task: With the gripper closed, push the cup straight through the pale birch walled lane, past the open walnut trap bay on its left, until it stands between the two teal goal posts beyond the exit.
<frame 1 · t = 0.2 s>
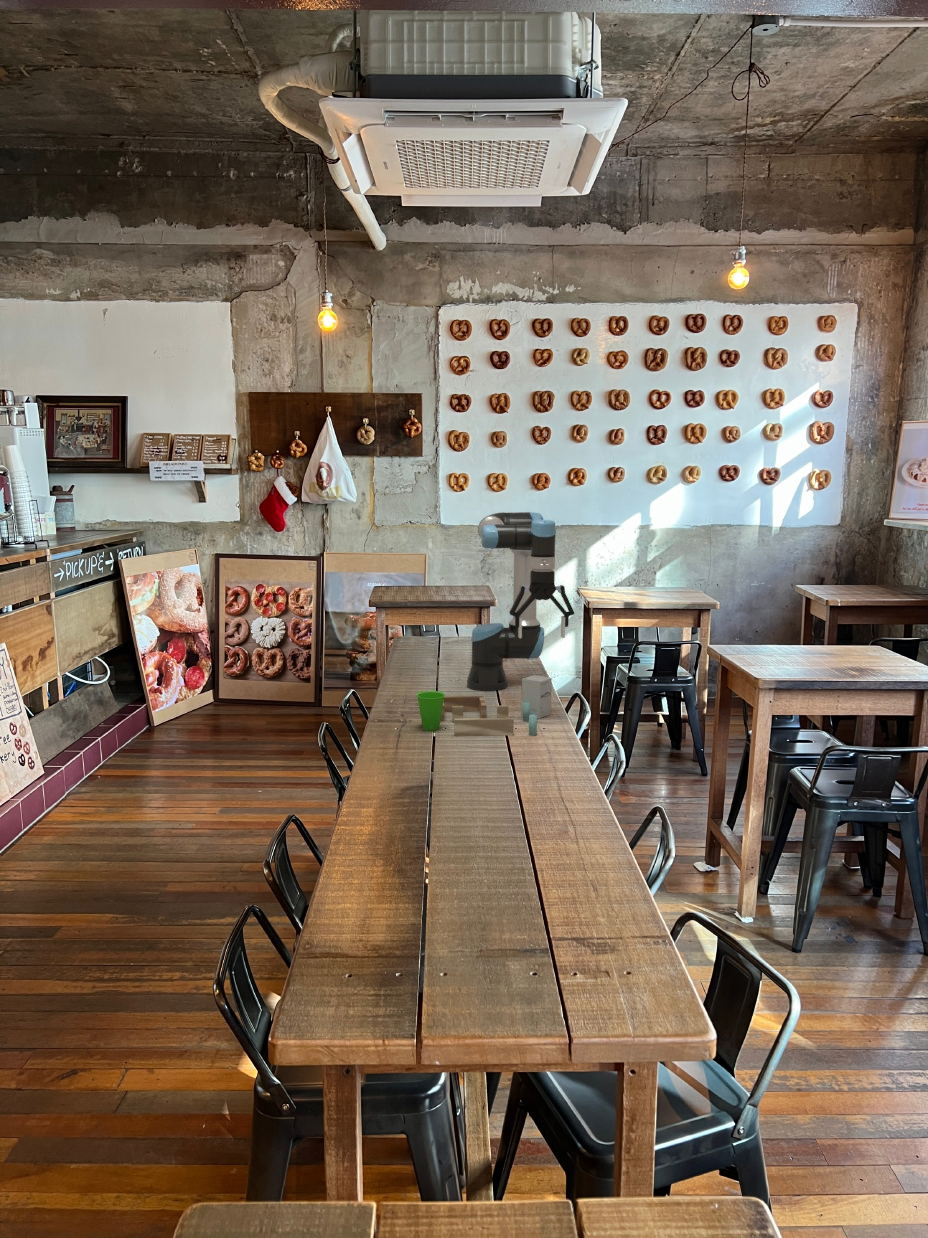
hand: (541, 637, 274), 28 cm above the table, fingers open, 13 cm apart
supplement box: (536, 715, 288), on the table
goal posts: (529, 727, 274), on the table
cup: (430, 729, 272), on the table
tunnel: (482, 728, 273), on the table
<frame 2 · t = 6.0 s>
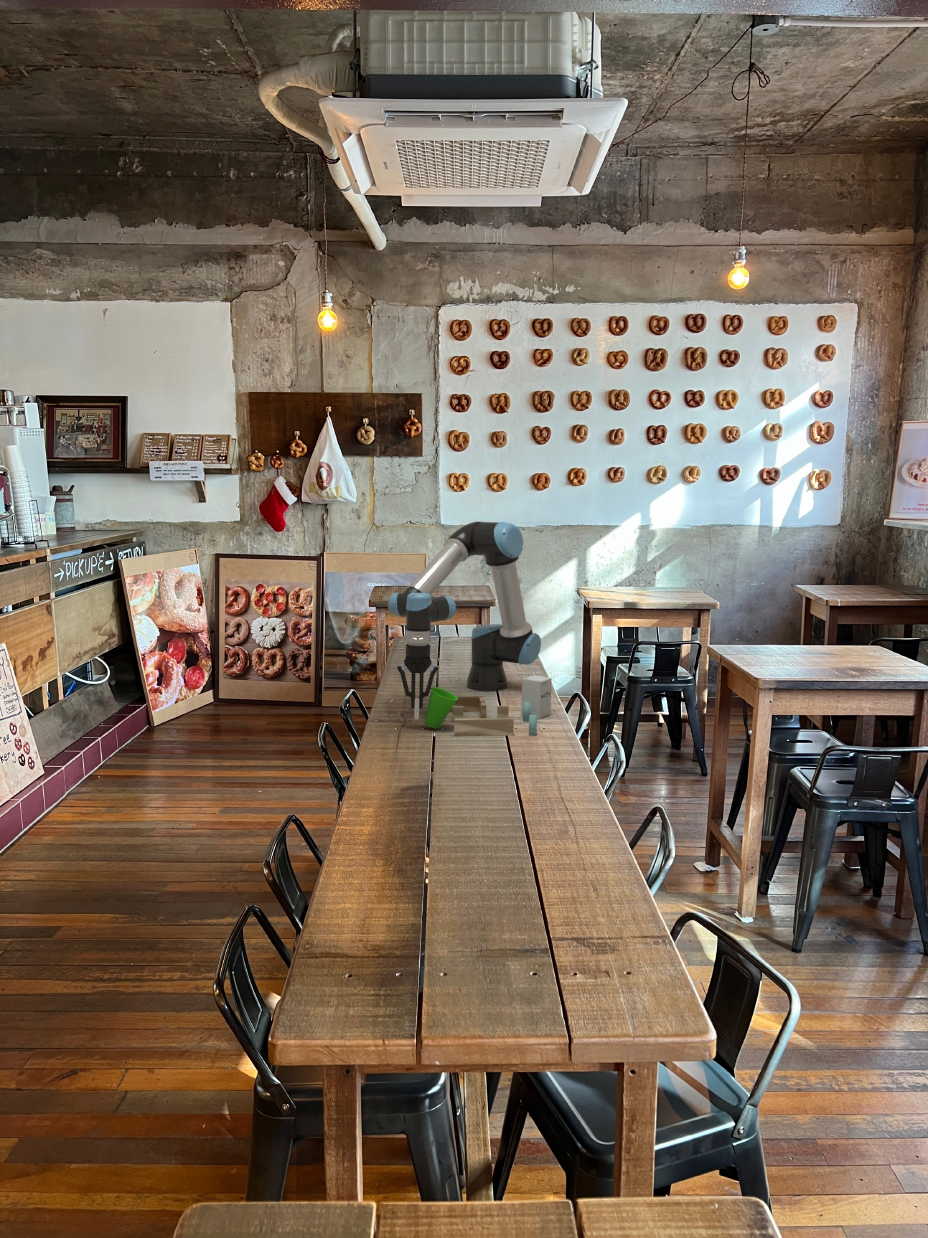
hand: (416, 718, 271), 4 cm above the table, fingers closed
cup: (431, 725, 272), point 1 cm above the table, touching gripper, hand
everything else where it was.
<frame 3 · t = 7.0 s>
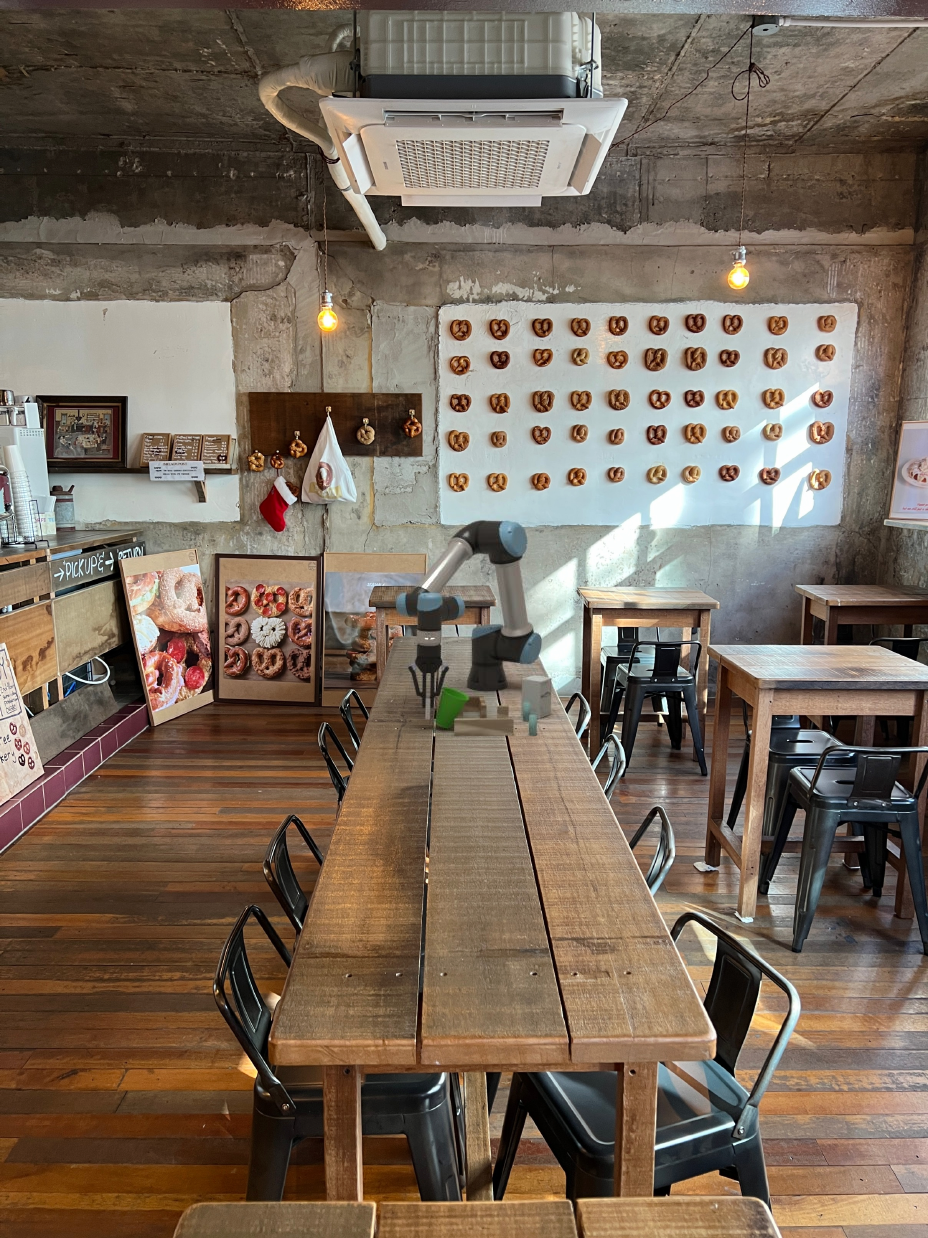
hand: (427, 718, 271), 4 cm above the table, fingers closed
cup: (442, 725, 272), point 1 cm above the table, touching gripper, hand
everything else where it was.
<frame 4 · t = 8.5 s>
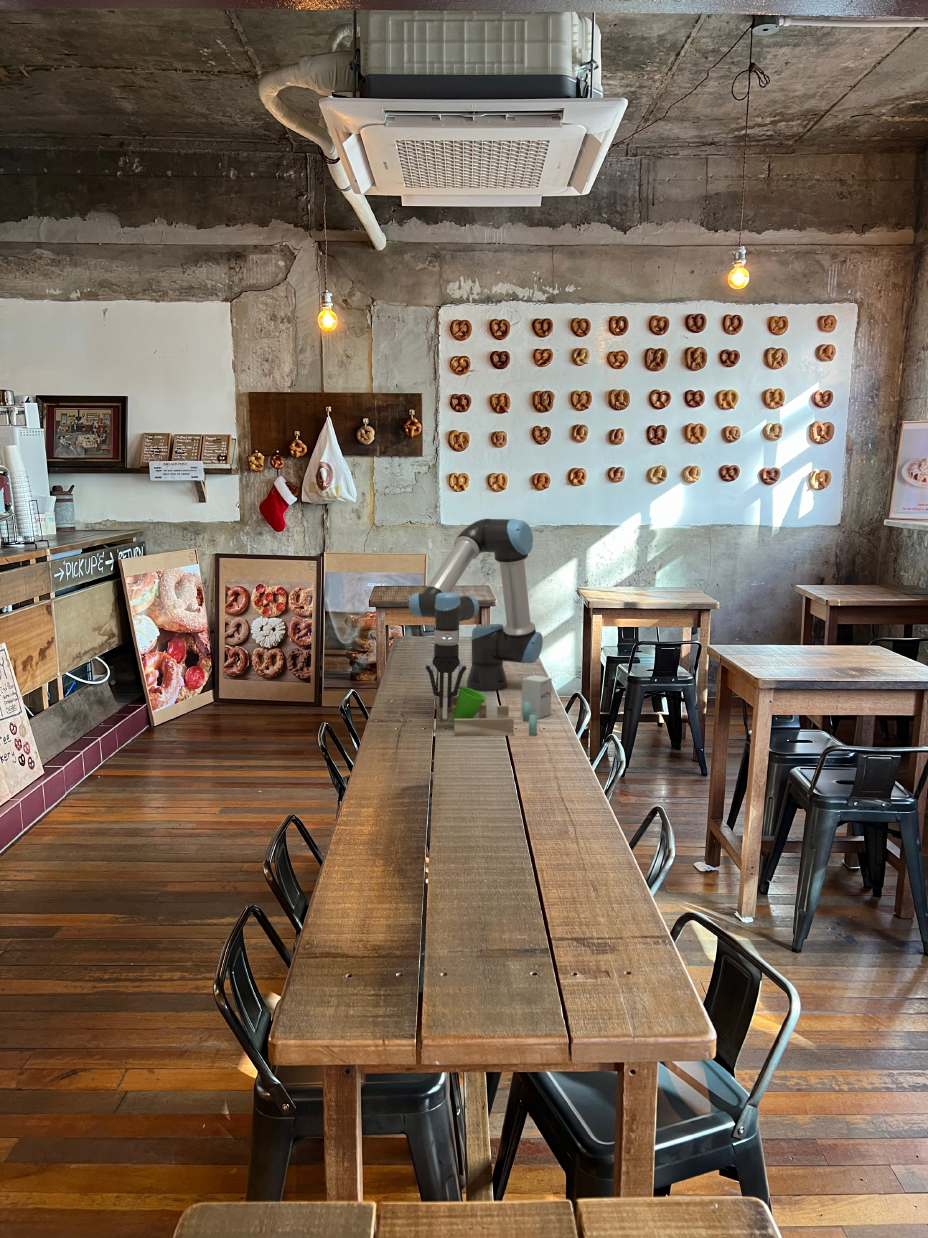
hand: (444, 717, 271), 4 cm above the table, fingers closed
cup: (459, 725, 272), point 1 cm above the table, touching gripper, hand
everything else where it was.
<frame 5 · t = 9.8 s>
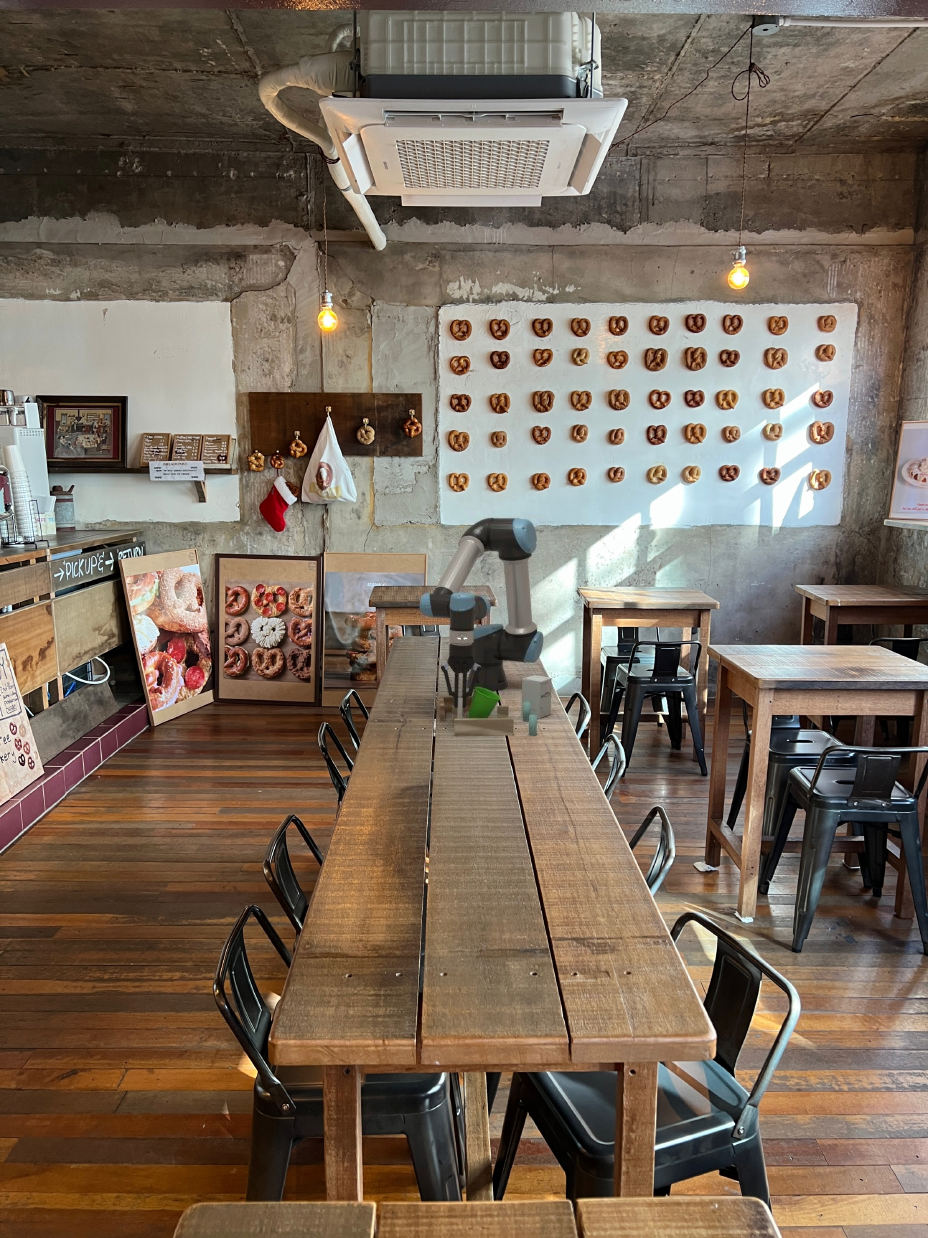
hand: (459, 717, 272), 4 cm above the table, fingers closed
cup: (474, 725, 273), point 1 cm above the table, touching gripper, hand
everything else where it was.
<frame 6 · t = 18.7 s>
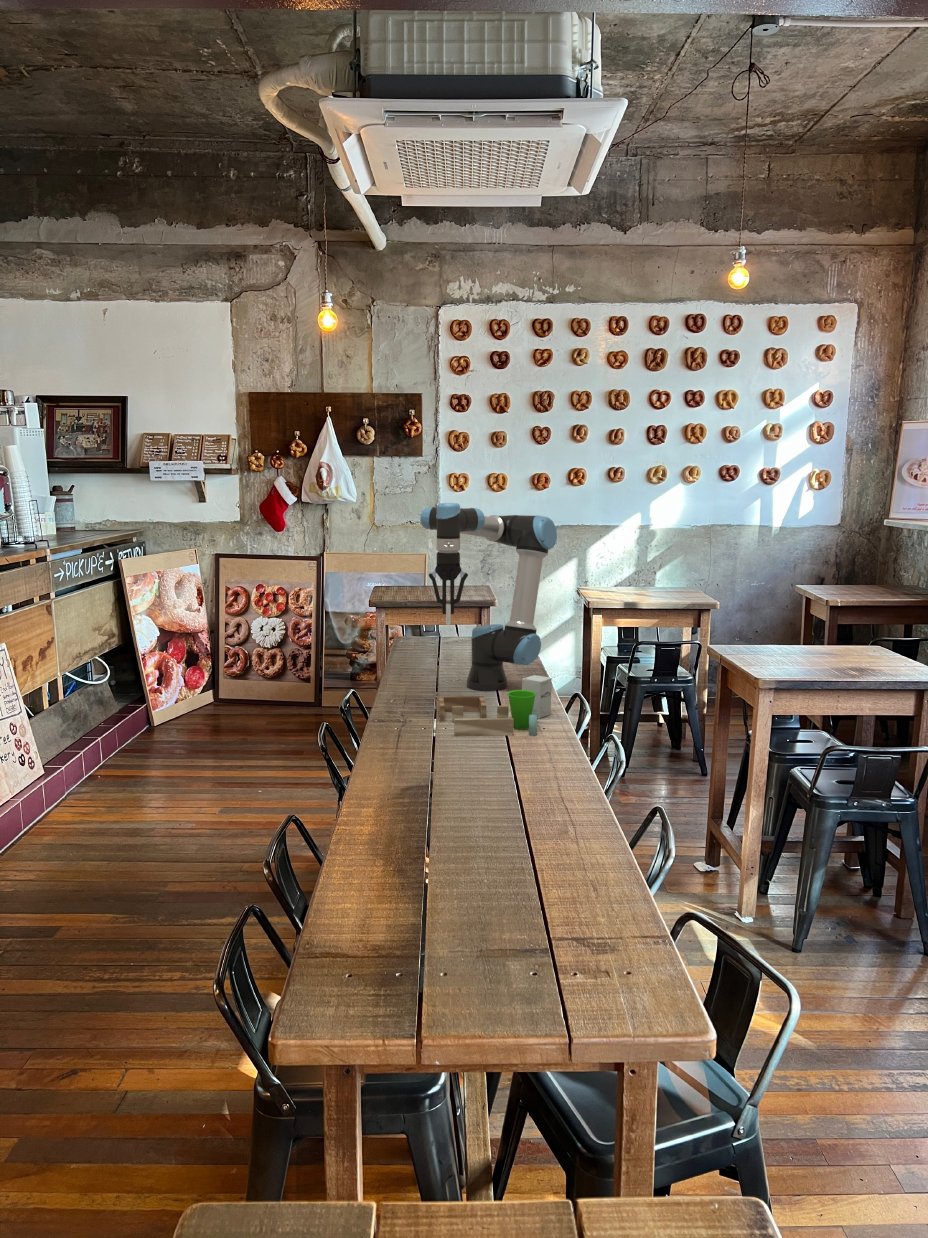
hand: (448, 623, 283), 30 cm above the table, fingers closed
cup: (521, 728, 274), on the table
everything else where it was.
at the end: cup inside the target area (3.1 cm from its centre), on the table; cup tilted 0°; cup moved 28.4 cm from its start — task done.
